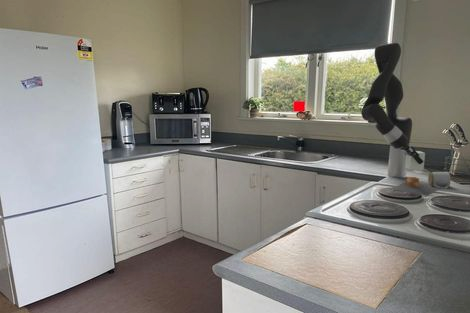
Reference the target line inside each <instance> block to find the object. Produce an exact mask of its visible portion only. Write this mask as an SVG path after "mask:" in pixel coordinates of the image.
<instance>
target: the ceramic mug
mask: <svg viewBox="0 0 470 313" xmlns="http://www.w3.org/2000/svg"><path fill="white" fill-rule="evenodd" d="M427 182H428V185H429V186H430V187H434V188H440V190H441V189H442V190H446V189H448V188H449V187H450V186H451V174H450V172H449V171H432V172H429V174H428V177H427Z"/></svg>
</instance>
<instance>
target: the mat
mask: <svg viewBox="0 0 470 313" xmlns="http://www.w3.org/2000/svg"><path fill="white" fill-rule="evenodd" d="M406 183H407V182H403V183H401V184H399V185H398V184H397V185H395V186H393V187H389V190H395V191H399V192H405V193H410V194H416V195H420V196H424V197H428V196H430V195H431V194H434V193H435V192H438V191H439V190H441V188H436V187H435V186H427V185H421V184H419V185H418V187H409V186H408V185H406Z"/></svg>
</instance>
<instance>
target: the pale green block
mask: <svg viewBox="0 0 470 313" xmlns="http://www.w3.org/2000/svg"><path fill="white" fill-rule="evenodd" d="M415 151H416V152H417V153H418V154H419V157H420V158H421V159H422V160H423V163H421V164H418V162H417V161H416V160H415V159H413V157H412V156H409V155H408V154H406V165H405V168H407V169H406V170H409V171H424V168H425V157H426V152H423V151H421V150H415ZM409 154H410V153H409ZM415 155H416V154H414V156H415Z"/></svg>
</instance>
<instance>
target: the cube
mask: <svg viewBox="0 0 470 313" xmlns="http://www.w3.org/2000/svg"><path fill="white" fill-rule="evenodd" d="M405 183H406V185H408V186H409V187H418V185H420V184H419V183H420V178H418V177H415V176H406V182H405Z"/></svg>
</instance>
